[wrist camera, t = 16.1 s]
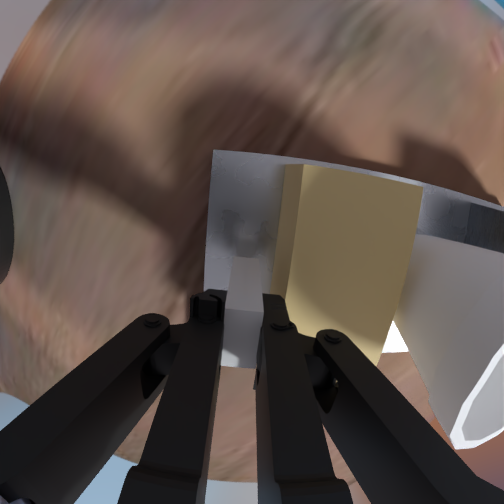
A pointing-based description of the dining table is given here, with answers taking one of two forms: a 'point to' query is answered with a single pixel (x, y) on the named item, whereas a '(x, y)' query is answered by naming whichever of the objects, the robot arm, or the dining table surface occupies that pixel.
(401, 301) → the foam cup
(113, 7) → the dining table surface
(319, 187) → the block
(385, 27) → the dining table surface
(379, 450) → the robot arm
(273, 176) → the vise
